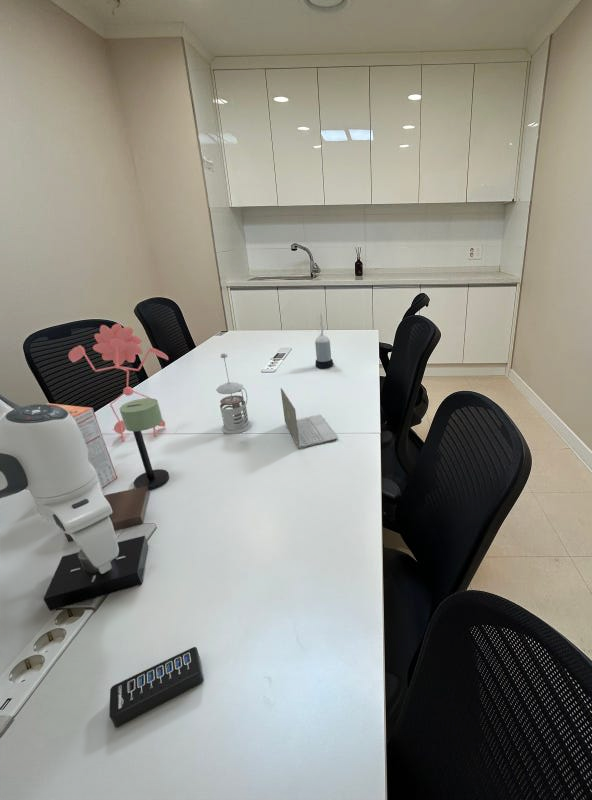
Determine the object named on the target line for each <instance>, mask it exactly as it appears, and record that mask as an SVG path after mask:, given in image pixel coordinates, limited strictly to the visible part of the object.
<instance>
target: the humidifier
mask: <svg viewBox="0 0 592 800" xmlns="http://www.w3.org/2000/svg"><path fill="white" fill-rule="evenodd" d="M316 317H317V321H318V320H320V322H319V326H320V329H318V330H317V332H318V334H319V335H318V336H317V337H316V338H315V340H314V341H315V342H314V344H315V345H314V346H315V355H316V359H315V368H316V369H319V370H327V369H331V368H333V367H334V364H335V363H334V361H333V359H332V351H331V339H330V338H329V337H328V336H326V335H325V334H324V326H323V313H322V311H321V312H319V316H316ZM318 317H319V318H320V319H319V318H318Z"/></svg>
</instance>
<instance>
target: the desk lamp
mask: <svg viewBox="0 0 592 800" xmlns="http://www.w3.org/2000/svg"><path fill="white" fill-rule="evenodd" d="M119 412H120V415H121V418H122V419H121V420H123V422H124V425H125V428H126V430H125V431H129V432H132V433H133V436H134V439H135V442H136V445H137V449H138V452H139V456H140V458H141V461H142V462H141V463H142V465H143V468H144V471H145V472H143V473H141V474H140V475H138V476H137V477H136V478H135V479H134V480H133V486H134V489H135V488H140V487H145V486H148V488H149V492H150V491H154V490H156V489H158V488H161V487H163V486H164V485H166V484H167V483H168V482H169V481H170V474H169V471H167V470H166V469H162V468H161V469H159V468H158V469H153V466H152V463H151V460H150V456H149V453H148V449H147V447H146V443H145V440H144V437H143V433H142V431H146V430H150V429H153V427H155V428H156V427H158V425H159V424H160V423H161V422H162V421H163V420H164V418H163V415H162V411H161V408H160V405H159V401H158V400H157V399H156V398H153V397H151V398H147V397H144V398H138V399H134V400H130V401H128V402H125V403H123V404H122V405H121V406H120V407H119ZM162 418H163V419H162Z"/></svg>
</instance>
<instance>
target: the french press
mask: <svg viewBox="0 0 592 800" xmlns="http://www.w3.org/2000/svg"><path fill="white" fill-rule="evenodd" d="M220 358H221V359H223V361H224V365H225V371H226V377H227V382H225V383H223V384H221V385H219V386H218V387H217V388H216V390H215V391H216V392H217V393H218V394H221V395H228V396H225V397H223V398H222V399H221V400H220V406H219V408H220V414H221V417H222V424H223V425H222V426H221V432H222V433H223V434H227V435H235V434H241V433H243V432H247V431H248V430H250V429H251V428H252V427H253V422H252V421H250V420H249V416H248V410H247V404H248V393H247V390H246V389H245V388H244V385H243V384H242V383H239V382H236V381H235V382H234V381H230V379H229V374H228V369H227V363H226V358H228V355H227V353H221V354H220ZM243 390H244V392H245V397H246V400H245V398H244V393H243ZM240 392H241V395H233V394H236V393H240Z"/></svg>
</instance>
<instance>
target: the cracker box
mask: <svg viewBox="0 0 592 800" xmlns="http://www.w3.org/2000/svg"><path fill="white" fill-rule="evenodd" d="M46 404H50V405H55V406H59V407H62V408H64V409H65V410H66V411H68V412H69V413H70V414H71V416H72V417H73V418H74V420H75V422H76V423H77V425H78V427H79V429H80V431H81V434H82V436H83V438H84V440H85V443H86V446H87V448H88V459H89V462H90V463H91V465H92V466H93V467H94V468H95V470H96V473H97V476H98V479H99V481H100V484H101V487H102V489H104V488H105V487H107V486H108V485H109V484H111V483H113V482H114V481H115V480H116V479H118V475H117V473H116V469H115V466H114V464H113V461H112V458H111V456H110V453H109V450H108V447H107V444H106V441H105V439H104V436H103V433H102V430H101V428H100V425H99V424H100V423H99V422H98V419H97V416H96V413H95V411H94V408H93V407H89V406H79V405H69V404H59V403H50V402H47V403H46Z"/></svg>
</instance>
